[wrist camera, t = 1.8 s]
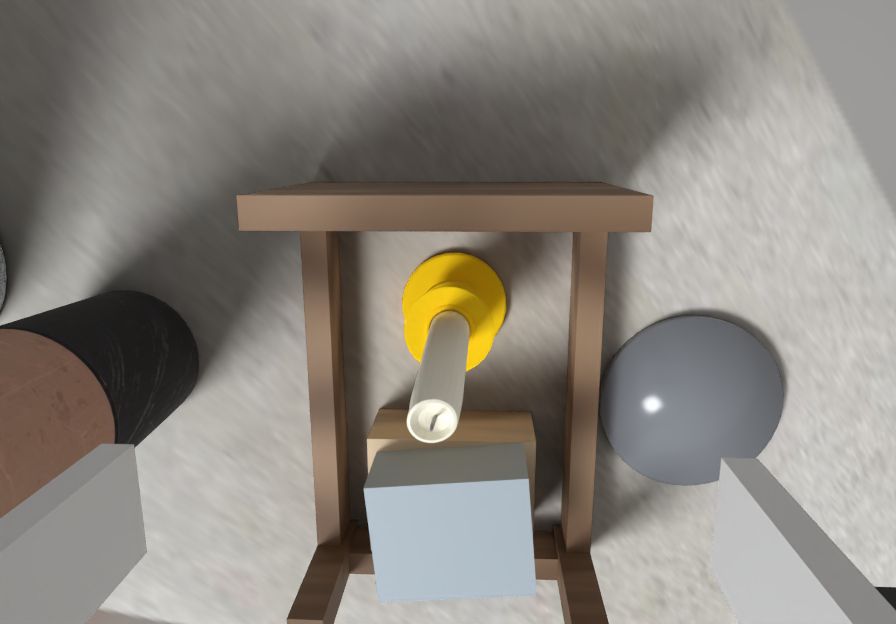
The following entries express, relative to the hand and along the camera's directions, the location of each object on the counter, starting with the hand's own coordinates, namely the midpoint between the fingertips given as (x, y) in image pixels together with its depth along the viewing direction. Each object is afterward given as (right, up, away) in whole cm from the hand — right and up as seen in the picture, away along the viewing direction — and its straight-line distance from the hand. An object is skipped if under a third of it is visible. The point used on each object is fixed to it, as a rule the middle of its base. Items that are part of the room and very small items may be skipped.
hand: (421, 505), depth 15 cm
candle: (+1, +5, +19) cm, 19 cm away
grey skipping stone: (+13, 0, +19) cm, 23 cm away
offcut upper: (+1, -5, +17) cm, 18 cm away
